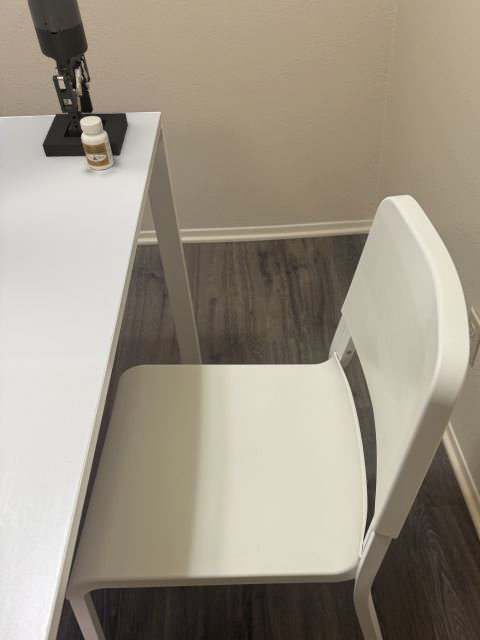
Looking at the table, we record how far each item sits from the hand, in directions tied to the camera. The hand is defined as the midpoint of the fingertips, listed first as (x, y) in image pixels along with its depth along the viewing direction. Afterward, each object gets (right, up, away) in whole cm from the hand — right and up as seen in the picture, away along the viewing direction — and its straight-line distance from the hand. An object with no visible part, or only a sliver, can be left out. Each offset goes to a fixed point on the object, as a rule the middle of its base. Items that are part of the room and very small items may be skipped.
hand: (83, 121), depth 110 cm
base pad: (0, -2, +3) cm, 3 cm away
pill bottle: (+4, -9, -3) cm, 10 cm away
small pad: (0, -2, +3) cm, 3 cm away
